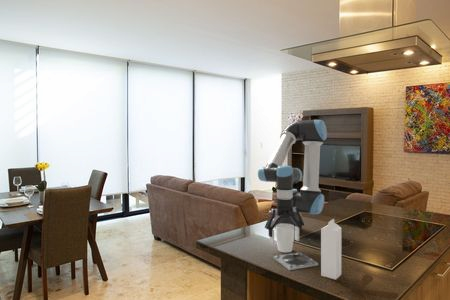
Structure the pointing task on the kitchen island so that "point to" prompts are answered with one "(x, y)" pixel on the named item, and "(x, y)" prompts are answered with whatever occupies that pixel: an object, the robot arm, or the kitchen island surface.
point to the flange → (295, 260)
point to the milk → (331, 250)
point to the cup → (285, 237)
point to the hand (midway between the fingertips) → (284, 241)
